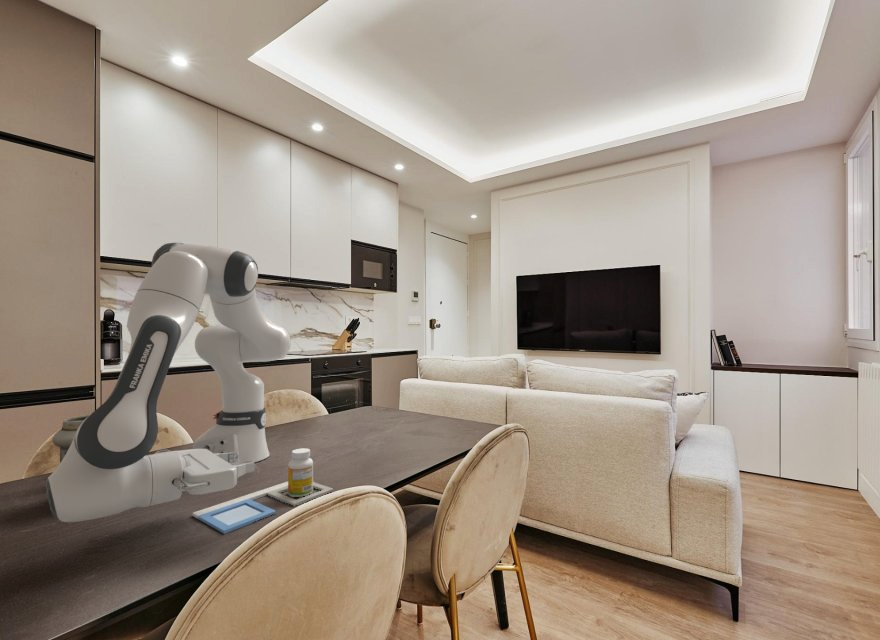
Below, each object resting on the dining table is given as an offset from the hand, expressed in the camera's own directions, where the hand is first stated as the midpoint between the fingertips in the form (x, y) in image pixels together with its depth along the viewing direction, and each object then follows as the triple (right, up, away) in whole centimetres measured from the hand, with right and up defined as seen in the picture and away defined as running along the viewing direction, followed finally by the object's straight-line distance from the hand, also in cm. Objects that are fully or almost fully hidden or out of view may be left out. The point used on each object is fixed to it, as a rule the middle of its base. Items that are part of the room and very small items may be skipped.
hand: (245, 460), depth 86 cm
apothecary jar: (-38, -11, +6) cm, 40 cm away
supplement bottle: (+9, -10, +8) cm, 16 cm away
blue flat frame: (+3, -10, +3) cm, 11 cm away
